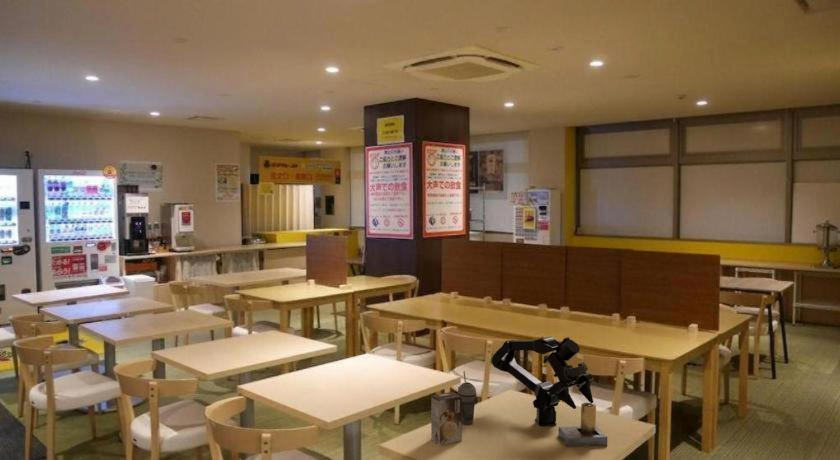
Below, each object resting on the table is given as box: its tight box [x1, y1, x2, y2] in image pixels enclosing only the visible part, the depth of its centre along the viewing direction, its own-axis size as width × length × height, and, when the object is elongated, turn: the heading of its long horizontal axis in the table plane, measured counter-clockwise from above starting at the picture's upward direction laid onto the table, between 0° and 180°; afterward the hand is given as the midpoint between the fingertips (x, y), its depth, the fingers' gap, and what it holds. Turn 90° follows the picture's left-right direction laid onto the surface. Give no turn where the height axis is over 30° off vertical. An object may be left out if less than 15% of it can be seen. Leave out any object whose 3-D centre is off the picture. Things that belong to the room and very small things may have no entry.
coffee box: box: [430, 391, 463, 446], centre depth 210 cm, size 9×6×16 cm
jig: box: [557, 425, 608, 448], centre depth 212 cm, size 14×10×3 cm
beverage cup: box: [456, 370, 478, 427], centre depth 226 cm, size 7×7×20 cm
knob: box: [580, 402, 597, 435], centre depth 212 cm, size 5×5×13 cm
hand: (584, 405), depth 213 cm, fingers open, 9 cm apart
